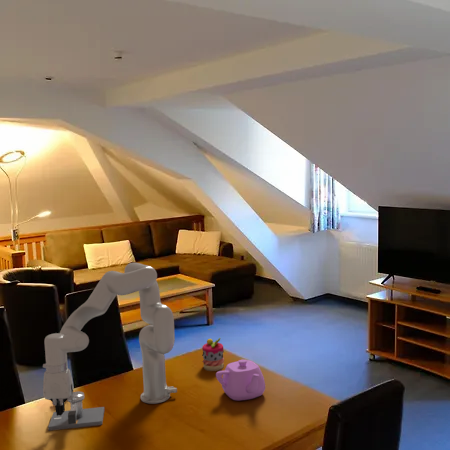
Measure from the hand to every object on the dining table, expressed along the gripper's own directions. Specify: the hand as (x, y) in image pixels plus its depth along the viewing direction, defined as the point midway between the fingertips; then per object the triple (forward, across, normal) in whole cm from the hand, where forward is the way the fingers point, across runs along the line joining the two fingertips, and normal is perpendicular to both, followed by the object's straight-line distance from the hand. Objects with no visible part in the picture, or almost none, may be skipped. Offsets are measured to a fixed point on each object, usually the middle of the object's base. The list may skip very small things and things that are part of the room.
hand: (60, 413), depth 191 cm
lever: (+6, +4, +4) cm, 8 cm away
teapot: (+7, +68, +32) cm, 76 cm away
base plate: (+7, +3, +9) cm, 12 cm away
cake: (+7, +52, +62) cm, 81 cm away
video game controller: (+8, -9, +25) cm, 28 cm away
